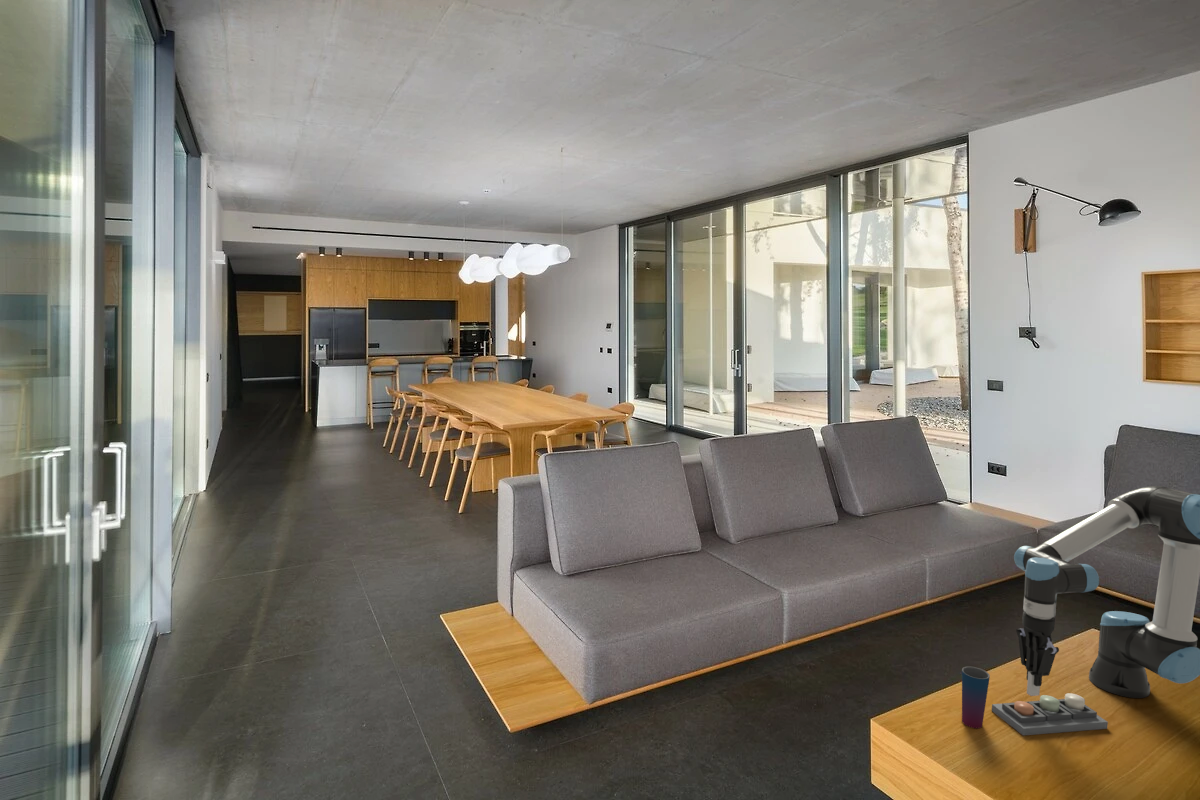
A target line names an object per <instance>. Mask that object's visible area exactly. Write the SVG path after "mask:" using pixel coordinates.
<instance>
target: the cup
mask: <svg viewBox="0 0 1200 800" xmlns="http://www.w3.org/2000/svg"><path fill="white" fill-rule="evenodd" d="M990 676H991V675H990V673H988V672H987V671H986V670H984V669H982V668H979V667H975V666H964V667H962V669H961V722H962V724H964V725H965V726H966V727H969V728H973V729H980V728H982V727H983V723H984V717H985V709H986V704H987V697H988V690H989V684H990V679H991V678H990Z"/></svg>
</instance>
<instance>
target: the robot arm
mask: <svg viewBox="0 0 1200 800" xmlns="http://www.w3.org/2000/svg"><path fill="white" fill-rule="evenodd" d="M1142 525H1153V526H1156V527H1157V526H1158V533H1157V536H1158V537H1159V538H1160V539H1161V541H1162V542H1163V546H1162V553H1161V559H1160V560H1161V561H1160V567H1159V574H1158V581H1157V588H1156V593H1155V594H1156V595H1155V603H1154V608H1153V616H1152V621H1150V619H1149V618H1148V617H1147V616H1144V615H1142V614H1137V613H1133V612H1130V611H1129V612H1127V611H1120V610H1119V611H1118V610H1114V611H1113V610H1112V611H1106V612H1104V613H1103V614H1102V616H1101V619H1100V623H1099V635H1098V636H1099V638H1098V648H1097V649H1098V651H1097V657H1096V658H1095V660H1094V662H1093V664H1092V666H1091V668H1090V669H1089V673H1088V679H1089V681H1090V682H1091V684H1093V685H1095V686H1096V687H1097V688H1099V689H1101V690H1104V691H1105V692H1108V693H1111V694H1113V695H1117V696H1121V697H1125V698H1129V699H1130V698H1131V699H1143V698H1147V697H1149V696H1150V692H1151V684H1150V682H1149V681H1148V680H1149V679H1148V675H1147V672H1146V671H1147V670H1148V671H1150V672H1152V673H1154V674H1156V675H1157V676H1159V677H1160V678H1162V679H1166V680H1168V681H1170V682H1173V683H1175V684H1187V683H1190V682H1192V681H1194V680H1195V679H1197V678H1198V677H1200V648H1199V647H1197V644H1198V636H1197V635H1196V634H1195V633H1194V632H1193V631H1192V628H1193V622H1194V615H1195V610H1196V609H1195V608H1196V601H1197V597H1198V596H1197V595H1198V588H1199V582H1200V581H1199V580H1200V494H1198V493H1192V492H1188V491H1183V490H1179V489H1175V488H1169V487H1167V486H1161V485H1151V486H1144V487H1139V488H1136V489H1133V490H1130V491H1127V492H1124V493H1122V494H1119V495H1118V496H1116V497H1115V498H1113V499H1111V500H1109V501H1108V502H1107V506H1106V507H1104V508H1102V509H1100V510H1099V511H1097V512H1096V513H1094V514H1092V515H1090V516H1089V517H1086V518H1084V519H1083V520H1081V521H1080V522H1078V523H1076V524H1075V525H1072V526H1071V527H1069V528H1067V529H1065V530H1063V531H1062V532H1060V533H1058V534H1056V535H1055V536H1053V537H1051V538H1050V539H1048V540H1046V541H1044V542H1043V543H1041V544H1039V545H1037V546H1035V547H1034V546H1029V545H1023V546H1020V547H1018V549H1016V551H1015V552H1014V555H1013V560H1014V564H1015V565H1016V567H1017V568H1019V569H1020V570H1022V571H1023V572H1024V575H1025V576H1024V590H1023V591H1024V594H1023V608H1022V610H1023V612H1022V619H1021V620H1022V626H1023V628H1016V635H1017V638H1018V646H1019V647H1018V648H1019V656H1020V663H1021V665H1023V666H1024V667H1025V670H1026V681H1027V685H1026V694H1027V695H1028V696H1030V697H1033V696H1034V697H1035V696H1036V697H1037V696H1040V691H1041V690H1040V689H1041V686H1042V681H1043V677H1045V676H1047V677H1048V676H1050V674H1051V670H1052V666H1053V664H1054V662H1055V661H1054V660H1055V658H1056V655H1057V654H1058V653H1059V651H1060V648H1059V647H1057V646H1055V645H1054V643H1053V639H1052V634H1053V632H1054V631H1055V624H1056V621H1055V620H1056V619H1055V617H1056V613H1057V611H1056V610H1057V609H1056V608H1057V598H1058V597H1057V596H1058V594H1069V593H1070V594H1072V593H1075V594H1076V593H1081V594H1082V593H1087V592H1092V591H1095V590H1096V589H1097V588H1098V587H1099V584H1100V577H1099V574H1098V572H1097V570H1096V569H1095V568H1094V567H1093V566H1091V565H1090V564H1087V563H1076V564H1075V563H1071V562H1070V561H1071V560H1073V559H1075V558H1077V557H1078V556H1080V555H1083V554H1084V553H1085V552H1087V551H1089V550H1091V549H1093V548H1095V547H1096V546H1098V545H1100V544H1101V543H1103V542H1105V541H1107V540H1109V539H1111V538H1112V537H1113V536H1116V535H1117V534H1119V533H1121V532H1123V531H1124V530H1126V529H1135V528H1138V527H1139V526H1142ZM1146 669H1147V670H1146Z"/></svg>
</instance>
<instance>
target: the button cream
mask: <svg viewBox="0 0 1200 800" xmlns="http://www.w3.org/2000/svg"><path fill="white" fill-rule="evenodd" d="M1064 699H1065V705H1066V706H1068V707H1069V708H1072V709H1075V710H1083V709H1084V705H1086V704H1085V701H1086V700H1085V698H1084V697H1082V696H1081V695H1078V694H1076V693H1071V692H1070V693H1069V692H1068V693H1065V694H1064Z"/></svg>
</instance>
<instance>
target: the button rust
mask: <svg viewBox="0 0 1200 800" xmlns="http://www.w3.org/2000/svg"><path fill="white" fill-rule="evenodd" d="M1027 702H1028V701H1023V700H1022V701H1021V700H1016V701H1014V703H1015V704H1014V710H1015V711H1017V712H1018V713H1019V714H1021V715H1022V716H1028V715H1033V711H1034V707H1033V706H1032V705H1031V704H1029V703H1027Z"/></svg>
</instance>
